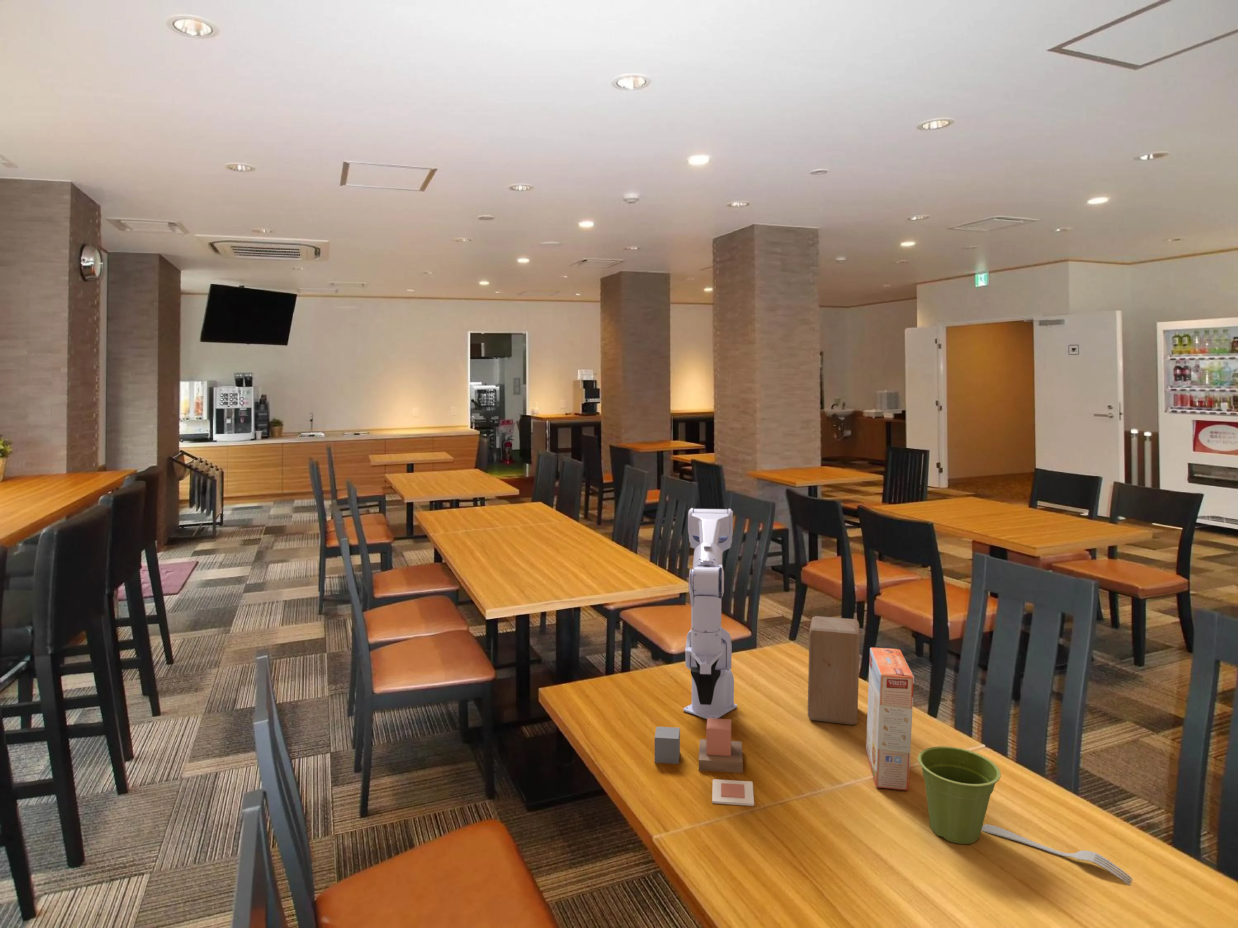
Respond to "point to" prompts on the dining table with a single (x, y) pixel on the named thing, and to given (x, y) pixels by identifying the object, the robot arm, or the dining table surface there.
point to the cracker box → (889, 718)
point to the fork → (1078, 855)
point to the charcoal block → (667, 745)
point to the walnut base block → (721, 759)
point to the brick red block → (718, 737)
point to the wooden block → (833, 670)
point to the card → (732, 792)
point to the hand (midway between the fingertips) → (705, 695)
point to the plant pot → (957, 791)
